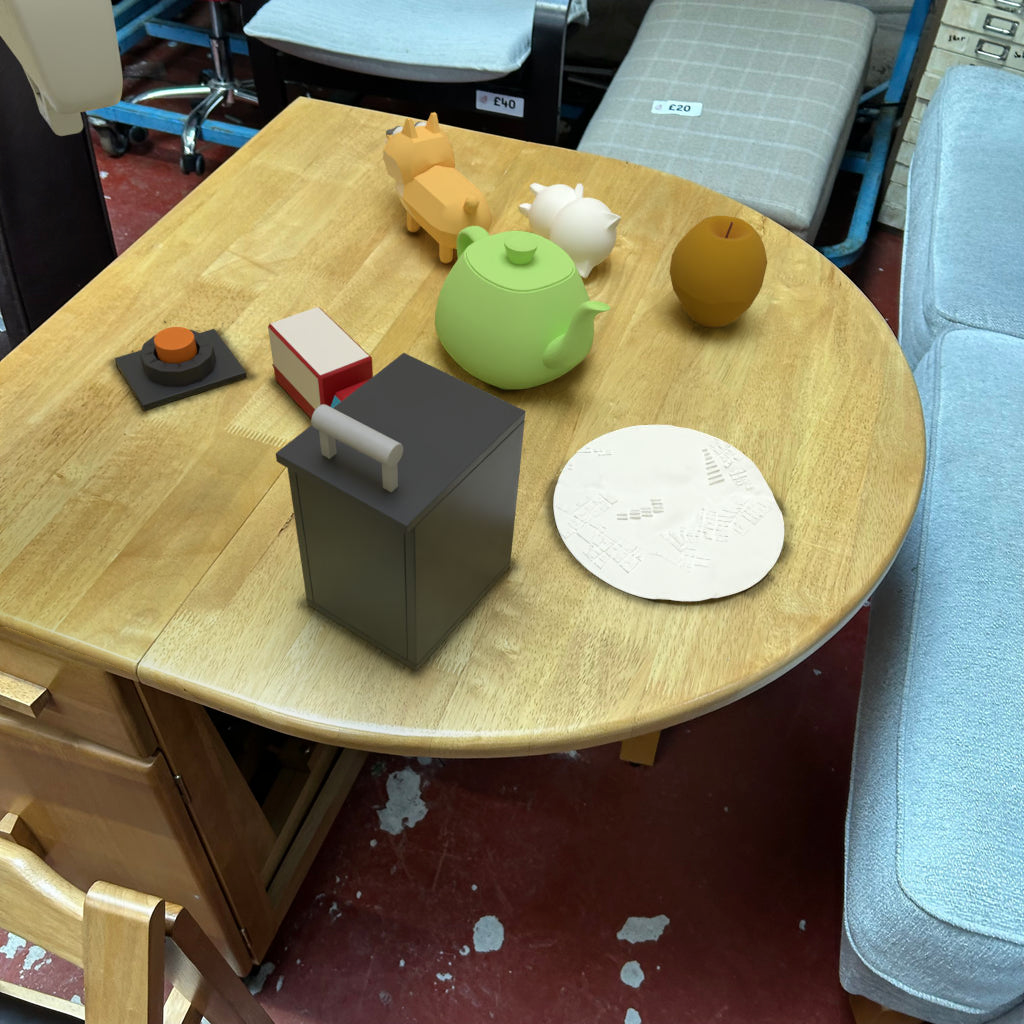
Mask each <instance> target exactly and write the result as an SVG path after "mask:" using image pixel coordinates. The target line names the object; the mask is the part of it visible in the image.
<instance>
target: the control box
mask: <svg viewBox="0 0 1024 1024" xmlns="http://www.w3.org/2000/svg"><path fill="white" fill-rule="evenodd" d="M189 330H190V331H192V333H193V334H194V338H195V343H196V347H197V354H196V356H195V357H194V358H192V359H191V360H189V361H185V362H182V363H165V362H162V361H161V360H160V359H159V358H158V355H157V351H156V347H155V343H154V338H155V336H156V334H154V335H153V336H152V337H151V338H149V339H148V340H147V341H145V342H144V343H143V344H142V346H141V350H137V351H133V352H129V353H127V354H123V355H119V356H117V357H115V358H114V361H115V364H116V366H117V368H118V369H119V371H120V373H121V374H122V375H123V377H124V379H125V381H126V383H127V384H128V386H129V388H130V389H131V391H132V392H133V394H134V396H135V398H136V399H137V401H138V402H139V404H140V406H141V408H142V409H143V411H148V410H150V409H153V408H156V407H159V406H163V405H167V404H170V403H172V402H175V401H179V400H182V399H184V398H187V397H190V396H194V395H197V394H200V393H204V392H206V391H209V390H212V389H215V388H218V387H221V386H225V385H229V384H231V383H234V382H238V381H241V380H243V379H246V378H247V377H248V376H247V371H246V370H245V369H244V367H243V366H242V364H241V363H240V362H239V360H238V359H237V358H236V356H235V355H234V353H233V352H232V350H231V349H230V348H229V347H228V345H227V344H226V343H225V341H224V340H223V339H222V337H221V335H220V334H219V333H218V332H217V330H216V329H215V328H212V329H209V330H205V331H202V332H199V331H196V330H194V329H189Z"/></svg>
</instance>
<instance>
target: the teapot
mask: <svg viewBox="0 0 1024 1024" xmlns="http://www.w3.org/2000/svg"><path fill="white" fill-rule="evenodd" d="M456 255H457V260H456V261H455V263H454V265H453V266H452V268H451V270H450V271H449V272H448V273H447V276H446V278H445V279H444V281H443V284H442V286H441V289H440V292H439V295H438V298H437V302H436V306H435V314H434V327H435V331H436V335H437V337H438V340H439V342H440V343H441V345H442V348H444V350H445V351H446V352H447V354H448V355H449V356H450V358H451V359H452V360H453V361H454V362H456V364H457V365H458V366H459V367H461V368H462V369H463V370H464V371H465V372H467V373H468V374H470V375H471V376H473V377H474V378H476V379H478V380H479V381H481V382H484V383H486V384H488V385H491V386H493V387H497V388H498V389H501V390H505V391H506V390H525V389H530V388H536V387H538V386H541V385H545V384H547V383H551V382H553V381H554V380H556V379H559V378H560V377H562V376H564V375H566V374H567V373H569V372H570V371H571V370H573V369H575V367H577V366H578V365H579V364H581V362H582V361H584V360H585V359H586V358H587V356H588V355H589V353H590V351H591V349H592V347H593V343H594V335H595V323H594V321H595V319H596V317H597V315H599V314H601V313H604V312H608V311H610V310H611V306H610V305H609V304H607V303H605V302H602V301H598V300H591V299H590V296H589V293H588V291H587V288H586V285H585V284H584V281H583V277H582V276H580V274H579V272H578V269H577V268H576V266H575V264H574V262H573V261H572V259H571V258H570V256H569V255H568V254H567V253H566V252H565V251H564V250H563V249H562V248H560V247H559V246H558V245H556V244H555V243H553V242H552V241H550V240H548V239H546V238H544V237H542V236H539V235H537V234H533V232H529V231H525V230H507V231H502V232H497V233H495V234H494V233H493V234H492V235H490V233H489V232H487V231H486V230H485V229H483V228H482V227H479V226H470V227H467V228H464V229H463V230H461V231H460V232H459V234H458V236H457V249H456Z"/></svg>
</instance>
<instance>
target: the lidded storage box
mask: <svg viewBox="0 0 1024 1024" xmlns="http://www.w3.org/2000/svg"><path fill="white" fill-rule="evenodd" d="M525 420H526V419H525ZM525 420H524V421H523V422H522V423H520V424H519V425H518V426H517V427H516V428H515V429H514V430H513V431H512V432H511V433H510V434H509V435H508V436H507V437H506V438H505V439H504V440H503V441H502V442H501V443H500V444H499V445H498V446H497V447H496V448H495V449H494V450H493V451H492V452H491V453H490V454H489V455H488V456H487V457H486V458H485V459H483V460H482V461H481V462H480V463H479V464H478V465H477V466H476V467H475V468H474V469H473V470H472V471H471V472H470V473H469V474H468V475H467V476H466V477H465V478H464V479H463V480H462V481H461V482H460V483H459V484H458V485H457V486H456V487H455V488H454V489H453V490H452V491H451V492H450V493H449V494H447V495H446V496H445V497H444V498H443V499H442V500H441V501H440V502H439V503H438V504H437V505H436V506H435V507H434V508H433V509H432V510H431V511H430V512H429V513H428V514H427V515H426V516H425V517H424V518H423V519H422V520H421V521H420V522H419V523H418V524H417V525H416V526H415V527H414V528H413V529H412V530H410V531H409V532H408V533H407V534H405V533H403V532H402V531H400V530H398V529H396V528H395V527H393V526H391V525H389V524H387V523H386V522H384V521H382V520H380V519H378V518H377V517H375V516H373V515H371V514H369V513H368V512H366V511H364V510H362V509H360V508H359V507H357V506H355V505H353V504H352V503H350V502H348V501H346V500H344V499H343V498H341V497H339V496H337V495H335V494H334V493H332V492H330V491H328V490H326V489H325V488H323V487H321V486H319V485H317V484H316V483H314V482H312V481H310V480H308V479H307V478H305V477H303V476H301V475H300V474H298V473H296V472H294V471H292V470H291V469H289V468H287V467H286V468H287V475H288V482H289V488H290V489H289V490H290V495H291V503H292V510H293V516H294V517H293V518H294V523H295V530H296V536H297V543H298V544H297V545H298V550H299V557H300V563H301V571H302V579H303V585H304V591H305V592H304V593H305V598H306V599H305V600H306V604H307V606H309V607H311V608H312V609H314V610H316V611H317V612H319V613H320V614H321V615H323V616H325V617H327V618H328V619H330V620H332V621H334V622H335V623H336V624H338V625H340V626H342V627H343V628H345V629H347V630H348V631H349V632H351V633H353V634H355V635H356V636H358V637H359V638H361V639H363V640H364V641H366V642H368V643H369V644H370V645H372V646H374V647H376V648H377V649H378V650H380V651H382V652H384V653H385V654H387V655H388V656H390V657H392V658H393V659H395V660H397V661H398V662H400V663H402V664H403V665H405V666H407V667H408V668H410V669H411V670H413V671H415V672H418V671H419V670H420V668H421V667H422V666H423V665H424V664H425V663H426V661H427V660H428V659H429V658H430V657H431V656H432V655H433V654H434V653H435V652H436V650H437V649H438V648H439V647H440V646H441V645H442V644H443V643H444V641H445V640H446V639H447V638H448V637H449V636H450V635H451V634H452V633H453V631H454V630H455V629H456V628H457V627H458V626H459V625H460V623H461V622H462V621H464V619H466V617H467V616H468V614H469V613H470V612H471V611H472V610H473V609H474V608H475V606H476V605H477V604H479V602H480V601H481V600H482V599H483V598H484V596H485V595H487V593H488V592H490V590H491V589H492V588H493V586H494V585H495V584H496V583H497V582H498V581H499V580H500V578H502V576H503V575H504V574H505V573H506V572H507V571H508V570H509V568H510V567H511V563H512V562H511V560H512V551H513V543H514V534H515V533H514V531H515V524H516V523H515V521H516V514H517V513H516V512H517V502H518V492H519V483H520V473H521V462H522V453H523V442H524V441H523V440H524V433H525Z"/></svg>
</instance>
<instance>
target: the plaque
mask: <svg viewBox="0 0 1024 1024" xmlns="http://www.w3.org/2000/svg"><path fill="white" fill-rule="evenodd" d="M552 505H553V506H552V507H553V515H554V520H555V521H554V522H555V525H556V527H557V531H558V533H559V535H560V537H561V539H562V541H563V543H564V544H565V546H566V547H567V549H568V550H569V552H570V554H572V556H573V557H574V558H575V559H576V560H577V561H578V562H579V563H580V564H581V565H582V566H583V567H584V568H585V569H586V570H588V571H589V572H590V573H591V574H593V575H594V576H596V577H597V578H598V579H600V580H602V581H603V582H605V583H606V584H608V585H610V586H612V587H614V588H616V589H618V590H620V591H622V592H624V593H627V594H630V595H633V596H636V597H639V598H644V599H650V600H671V601H678V602H700V601H705V600H709V599H719V598H723V597H727V596H731V595H734V594H737V593H740V592H743V591H745V590H747V589H749V588H751V587H753V586H754V585H756V584H757V583H759V582H760V581H762V579H763V578H764V577H765V576H766V575H767V574H768V573H769V572H770V571H771V569H772V568H773V567H774V565H775V564H776V563H777V561H778V559H779V557H780V555H781V552H782V550H783V546H784V541H785V522H784V517H783V513H782V511H781V509H780V507H779V505H778V503H777V501H776V498H775V496H774V493H773V491H772V489H771V487H770V486H769V485H768V483H767V481H766V480H765V477H764V476H763V474H762V472H761V471H760V469H759V468H758V466H757V465H756V463H754V461H752V460H751V459H750V458H749V457H748V456H747V455H745V454H744V453H743V452H742V451H741V450H739V449H737V448H736V447H735V446H733V445H732V444H730V443H729V442H726V441H724V440H722V439H721V438H718V437H715V436H713V435H711V434H708V433H706V432H703V431H700V430H696V429H693V428H688V427H681V426H676V425H672V424H638V425H632V426H627V427H622V428H619V429H616V430H613V431H609V432H607V433H604V434H602V435H600V436H597V437H596V438H593V440H591V441H589V442H587V443H586V444H585V445H583V446H582V447H581V448H580V449H579V450H577V452H576V453H574V455H572V456H571V458H570V459H569V460H568V461H567V463H566V464H565V465H564V467H563V469H562V471H561V473H560V474H559V476H558V480H557V482H556V485H555V489H554V492H553V501H552Z"/></svg>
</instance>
